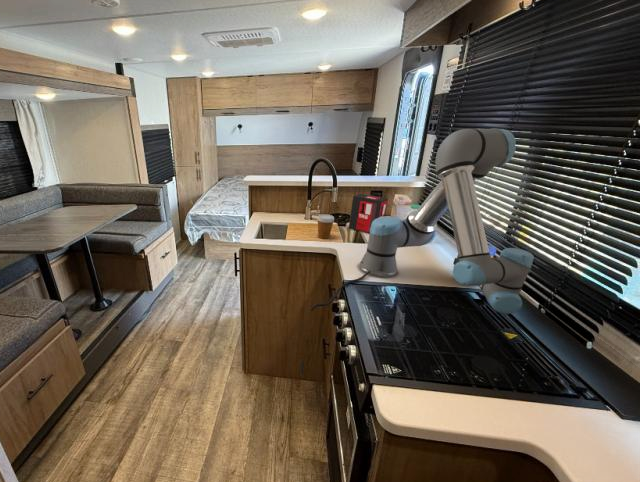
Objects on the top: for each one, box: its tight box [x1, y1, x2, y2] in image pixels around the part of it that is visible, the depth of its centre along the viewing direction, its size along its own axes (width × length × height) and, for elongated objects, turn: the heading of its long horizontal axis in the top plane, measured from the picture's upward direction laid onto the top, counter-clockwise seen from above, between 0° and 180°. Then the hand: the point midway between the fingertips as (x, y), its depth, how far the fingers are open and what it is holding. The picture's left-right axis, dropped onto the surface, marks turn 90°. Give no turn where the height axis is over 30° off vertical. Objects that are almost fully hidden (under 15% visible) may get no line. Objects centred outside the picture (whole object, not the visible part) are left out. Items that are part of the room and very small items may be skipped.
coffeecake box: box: [390, 193, 413, 220], centre depth 183 cm, size 15×7×20 cm, turn 163°
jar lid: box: [488, 244, 497, 257], centre depth 119 cm, size 10×10×2 cm
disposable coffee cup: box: [316, 213, 335, 240], centre depth 172 cm, size 10×10×12 cm
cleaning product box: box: [348, 193, 389, 235], centre depth 181 cm, size 16×9×20 cm, turn 44°
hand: (473, 256), depth 124 cm, fingers closed on jam jar, 9 cm apart
